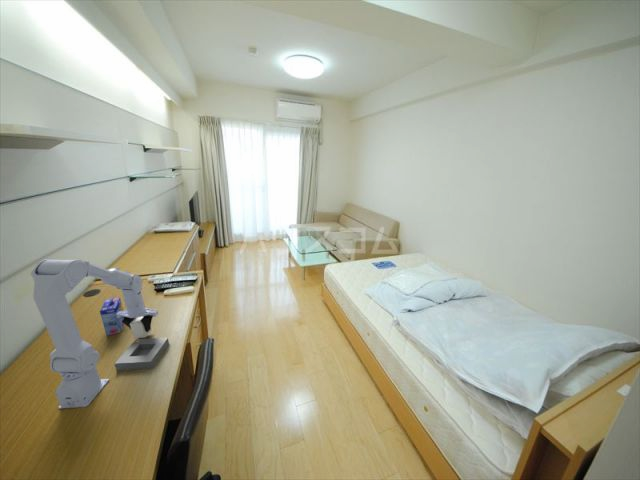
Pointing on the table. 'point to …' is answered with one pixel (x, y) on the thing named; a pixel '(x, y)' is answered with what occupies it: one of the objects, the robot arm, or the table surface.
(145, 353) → the block
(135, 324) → the brick
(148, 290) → the table surface
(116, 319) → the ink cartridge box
